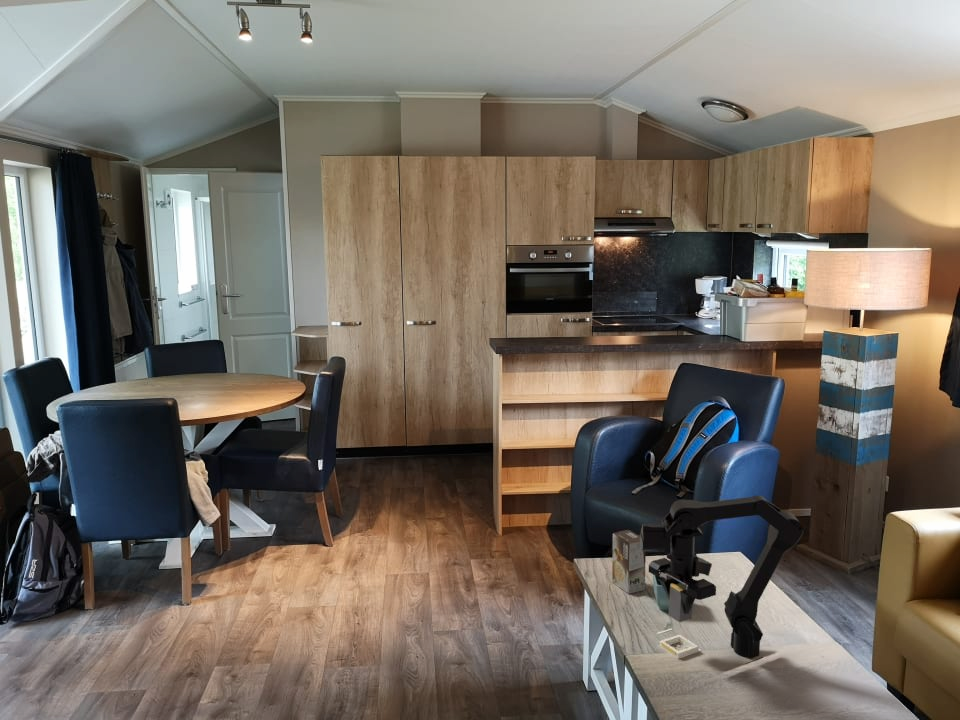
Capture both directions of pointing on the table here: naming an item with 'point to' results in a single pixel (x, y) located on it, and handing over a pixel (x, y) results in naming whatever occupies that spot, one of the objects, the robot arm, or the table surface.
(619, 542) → the coffee box
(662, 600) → the flower pot
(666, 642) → the header board
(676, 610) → the plug
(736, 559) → the table surface
